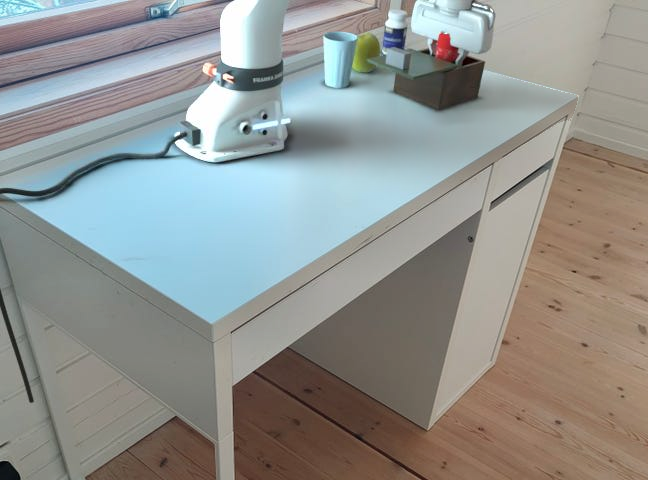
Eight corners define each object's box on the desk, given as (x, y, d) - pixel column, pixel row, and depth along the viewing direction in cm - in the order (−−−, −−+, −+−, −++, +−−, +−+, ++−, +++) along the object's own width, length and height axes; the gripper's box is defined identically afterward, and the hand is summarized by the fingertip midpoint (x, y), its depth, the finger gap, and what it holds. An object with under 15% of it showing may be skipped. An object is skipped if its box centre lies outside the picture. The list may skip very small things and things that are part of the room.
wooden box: (438, 110, 148) (444, 72, 143) (393, 92, 156) (397, 55, 151) (477, 97, 155) (485, 61, 150) (432, 80, 163) (438, 45, 158)
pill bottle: (379, 54, 177) (384, 13, 170) (384, 48, 181) (389, 7, 174) (401, 57, 175) (407, 15, 169) (405, 51, 179) (411, 10, 173)
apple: (389, 65, 167) (385, 25, 159) (366, 81, 165) (361, 42, 157) (366, 57, 171) (361, 18, 164) (343, 72, 169) (337, 33, 161)
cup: (360, 86, 158) (364, 38, 151) (334, 91, 155) (337, 43, 148) (340, 76, 163) (343, 29, 156) (314, 81, 160) (317, 34, 153)
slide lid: (413, 80, 138) (416, 61, 136) (366, 61, 146) (368, 44, 143) (456, 67, 145) (460, 50, 142) (409, 51, 153) (412, 33, 150)
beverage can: (428, 89, 154) (438, 33, 146) (430, 82, 158) (440, 26, 150) (452, 92, 153) (463, 35, 146) (453, 84, 157) (464, 29, 149)
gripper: (506, 5, 139) (490, 74, 148) (431, -16, 151) (420, 49, 160) (487, 9, 136) (472, 80, 145) (411, -13, 148) (402, 54, 157)
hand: (444, 64), depth 152 cm, fingers closed on beverage can, 5 cm apart
